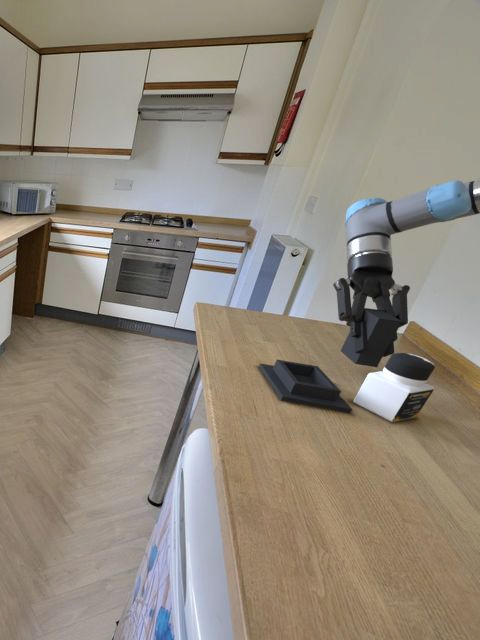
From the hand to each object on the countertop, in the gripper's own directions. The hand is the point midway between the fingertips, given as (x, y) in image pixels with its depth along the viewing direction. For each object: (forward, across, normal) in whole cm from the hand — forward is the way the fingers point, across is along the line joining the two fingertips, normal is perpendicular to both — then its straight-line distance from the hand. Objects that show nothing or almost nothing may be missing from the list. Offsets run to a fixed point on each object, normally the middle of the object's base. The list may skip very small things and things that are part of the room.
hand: (374, 352), depth 88 cm
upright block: (0, 0, -5) cm, 5 cm away
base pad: (+11, +14, 0) cm, 18 cm away
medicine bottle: (+13, 0, +2) cm, 14 cm away
